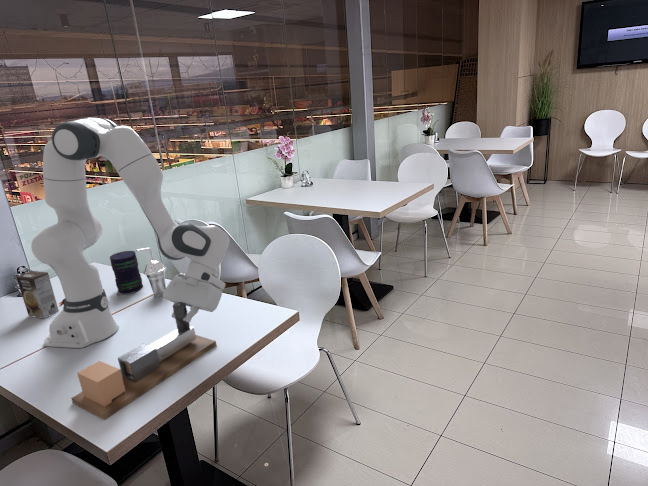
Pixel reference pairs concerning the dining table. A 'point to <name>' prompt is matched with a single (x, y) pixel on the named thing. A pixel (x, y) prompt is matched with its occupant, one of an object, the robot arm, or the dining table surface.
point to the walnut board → (147, 379)
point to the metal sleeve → (139, 362)
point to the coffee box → (37, 293)
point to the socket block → (101, 383)
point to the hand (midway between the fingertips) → (180, 319)
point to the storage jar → (126, 272)
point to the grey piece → (173, 336)
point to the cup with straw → (155, 274)
